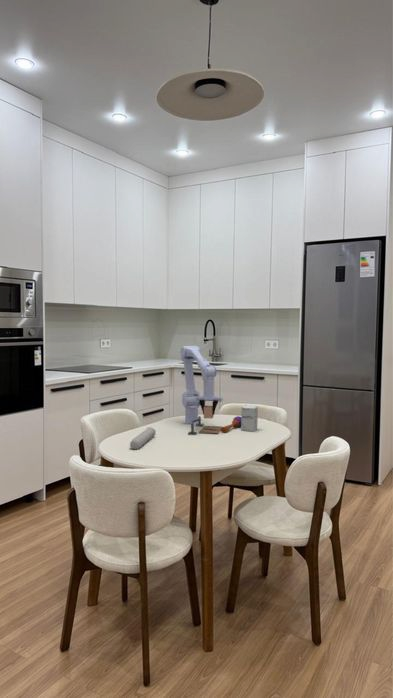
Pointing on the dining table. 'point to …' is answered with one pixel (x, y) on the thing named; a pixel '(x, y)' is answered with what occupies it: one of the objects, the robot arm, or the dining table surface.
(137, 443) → the tube
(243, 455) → the dining table surface
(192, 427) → the grey door handle
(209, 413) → the block
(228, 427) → the kendama
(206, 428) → the walnut board
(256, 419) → the supplement box
